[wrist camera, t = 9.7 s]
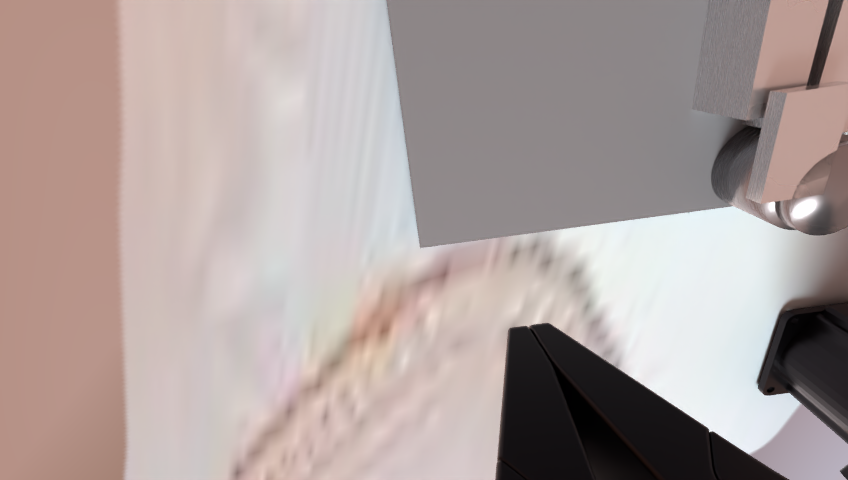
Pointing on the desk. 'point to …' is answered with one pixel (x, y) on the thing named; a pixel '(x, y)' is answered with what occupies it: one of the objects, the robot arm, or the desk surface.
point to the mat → (552, 113)
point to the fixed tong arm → (833, 61)
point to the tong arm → (779, 106)
